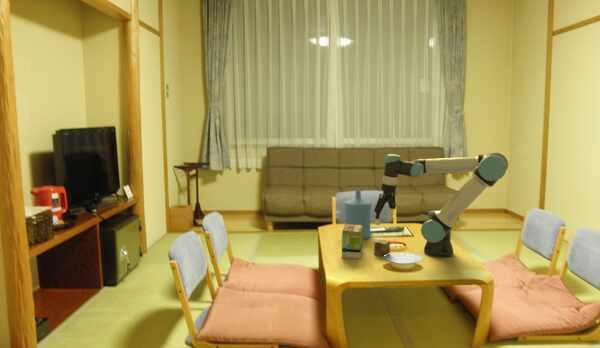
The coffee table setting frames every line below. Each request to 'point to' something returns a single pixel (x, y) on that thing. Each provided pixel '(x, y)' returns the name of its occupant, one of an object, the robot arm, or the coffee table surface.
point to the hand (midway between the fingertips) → (383, 222)
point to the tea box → (352, 241)
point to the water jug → (359, 213)
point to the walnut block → (381, 247)
